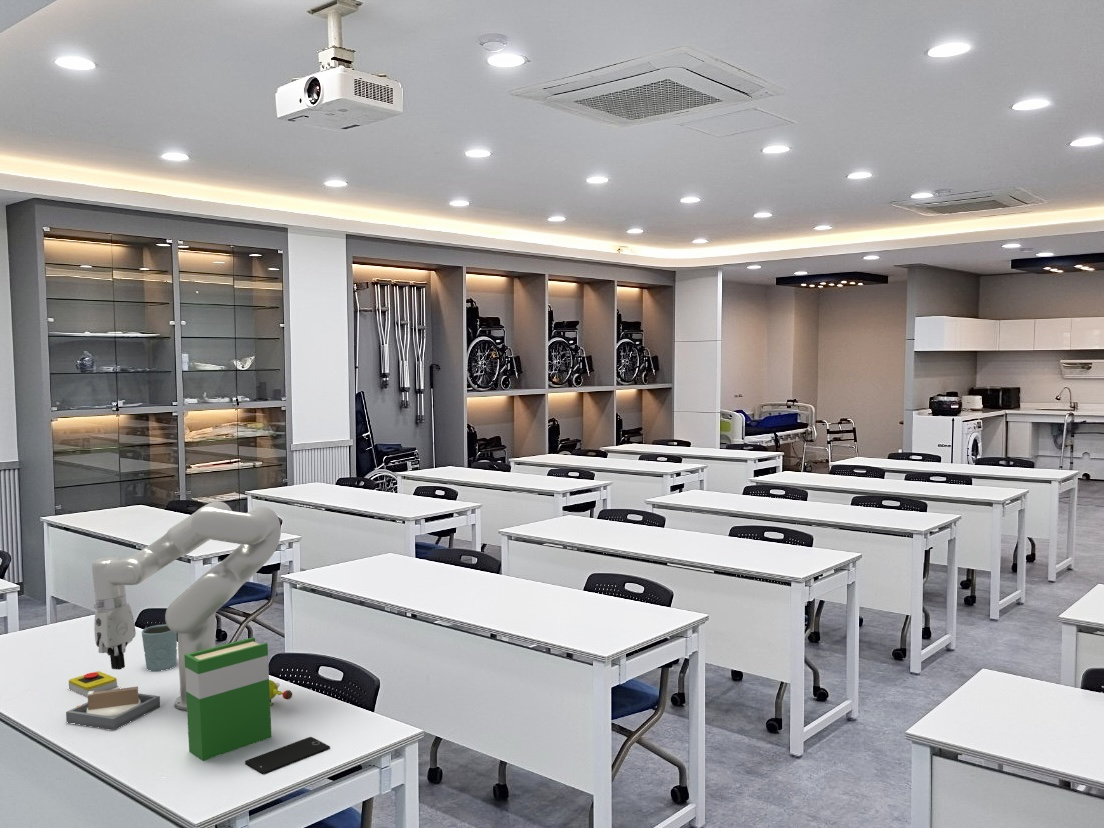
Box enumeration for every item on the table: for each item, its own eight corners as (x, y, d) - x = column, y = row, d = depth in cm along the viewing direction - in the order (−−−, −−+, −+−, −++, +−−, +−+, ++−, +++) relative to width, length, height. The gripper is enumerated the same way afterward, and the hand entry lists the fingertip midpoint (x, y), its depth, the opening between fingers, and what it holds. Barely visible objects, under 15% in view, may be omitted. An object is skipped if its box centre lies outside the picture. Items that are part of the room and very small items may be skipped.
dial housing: (160, 706, 245) (159, 695, 245) (113, 730, 230) (113, 718, 230) (114, 700, 251) (114, 689, 251) (66, 723, 236) (65, 711, 236)
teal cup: (162, 673, 272) (160, 635, 271) (135, 670, 275) (133, 632, 274) (186, 662, 281) (184, 625, 280) (160, 659, 284) (158, 622, 284)
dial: (143, 698, 249) (142, 678, 248) (137, 716, 236) (136, 694, 236) (91, 705, 245) (90, 684, 244) (82, 723, 232) (81, 701, 232)
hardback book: (257, 729, 229) (253, 637, 228) (271, 737, 224) (267, 643, 223) (189, 751, 217) (184, 654, 215) (202, 761, 212) (197, 661, 210)
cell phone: (331, 750, 217) (331, 746, 217) (262, 776, 204) (262, 772, 204) (311, 739, 223) (311, 736, 223) (243, 764, 210) (243, 760, 210)
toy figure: (299, 707, 243) (298, 682, 243) (284, 714, 239) (283, 689, 238) (254, 695, 252) (253, 671, 252) (238, 702, 248) (237, 678, 247)
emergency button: (96, 665, 269) (122, 675, 260) (96, 680, 269) (122, 690, 260) (64, 675, 261) (89, 685, 252) (64, 689, 261) (90, 700, 252)
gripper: (99, 611, 237) (107, 679, 238) (142, 595, 251) (149, 659, 252) (78, 610, 239) (85, 677, 240) (122, 594, 253) (128, 658, 254)
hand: (118, 668), depth 246 cm, fingers closed
